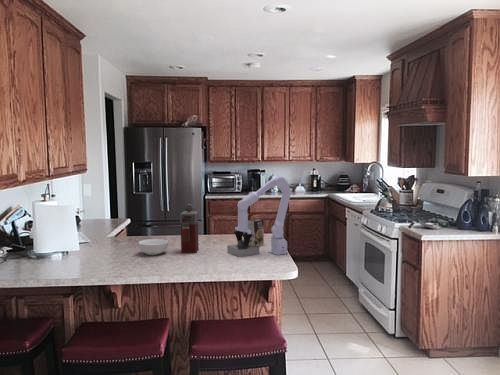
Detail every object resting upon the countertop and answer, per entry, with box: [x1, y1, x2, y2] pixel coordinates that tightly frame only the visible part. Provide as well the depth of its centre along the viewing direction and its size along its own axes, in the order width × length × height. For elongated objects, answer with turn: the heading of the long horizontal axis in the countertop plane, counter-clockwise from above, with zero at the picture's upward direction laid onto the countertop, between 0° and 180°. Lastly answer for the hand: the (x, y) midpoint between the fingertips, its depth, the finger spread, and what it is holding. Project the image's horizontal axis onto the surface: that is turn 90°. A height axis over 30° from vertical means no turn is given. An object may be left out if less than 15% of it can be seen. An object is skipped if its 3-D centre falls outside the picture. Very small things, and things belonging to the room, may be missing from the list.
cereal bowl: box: [138, 238, 169, 256], centre depth 246 cm, size 17×17×7 cm
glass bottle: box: [179, 203, 200, 254], centre depth 248 cm, size 9×11×28 cm
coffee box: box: [248, 218, 265, 247], centre depth 264 cm, size 9×6×16 cm
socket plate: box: [226, 243, 260, 258], centre depth 244 cm, size 14×13×4 cm
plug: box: [236, 239, 249, 248], centre depth 244 cm, size 4×5×6 cm
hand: (243, 244), depth 244 cm, fingers open, 7 cm apart
